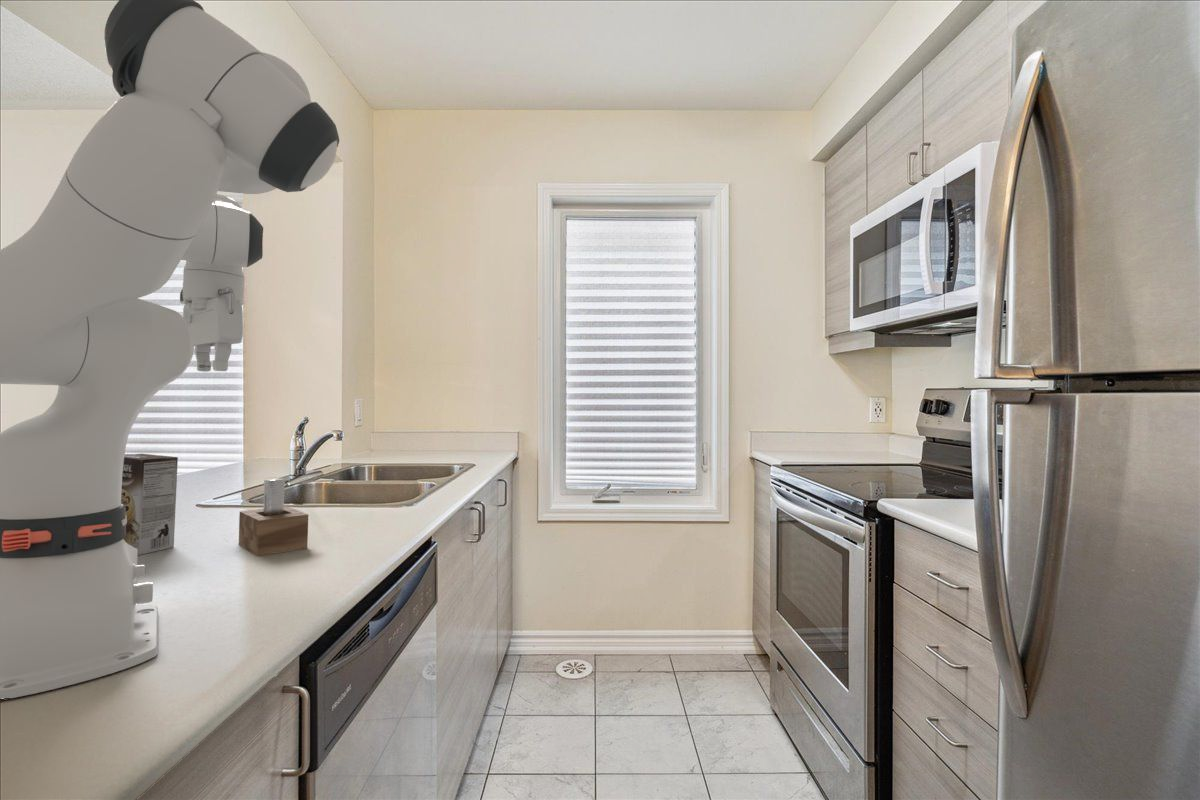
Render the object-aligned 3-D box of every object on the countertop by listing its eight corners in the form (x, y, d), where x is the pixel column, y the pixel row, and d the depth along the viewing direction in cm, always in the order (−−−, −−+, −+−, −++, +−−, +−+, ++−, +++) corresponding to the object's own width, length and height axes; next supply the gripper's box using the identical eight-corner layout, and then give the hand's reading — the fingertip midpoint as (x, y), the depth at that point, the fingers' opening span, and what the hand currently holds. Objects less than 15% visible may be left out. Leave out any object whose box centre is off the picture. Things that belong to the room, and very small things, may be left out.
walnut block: (307, 547, 104) (308, 514, 104) (258, 555, 98) (259, 520, 98) (285, 537, 110) (286, 506, 110) (238, 544, 104) (239, 511, 104)
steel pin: (285, 535, 104) (287, 480, 104) (266, 538, 101) (268, 481, 101) (279, 532, 106) (280, 478, 106) (259, 535, 104) (261, 479, 104)
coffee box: (99, 550, 98) (101, 455, 98) (139, 541, 104) (141, 452, 104) (137, 556, 95) (140, 458, 95) (176, 546, 102) (179, 455, 101)
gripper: (255, 288, 96) (252, 372, 96) (217, 299, 109) (215, 372, 109) (210, 282, 91) (208, 369, 91) (177, 294, 105) (174, 370, 105)
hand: (211, 371), depth 100 cm, fingers open, 8 cm apart
